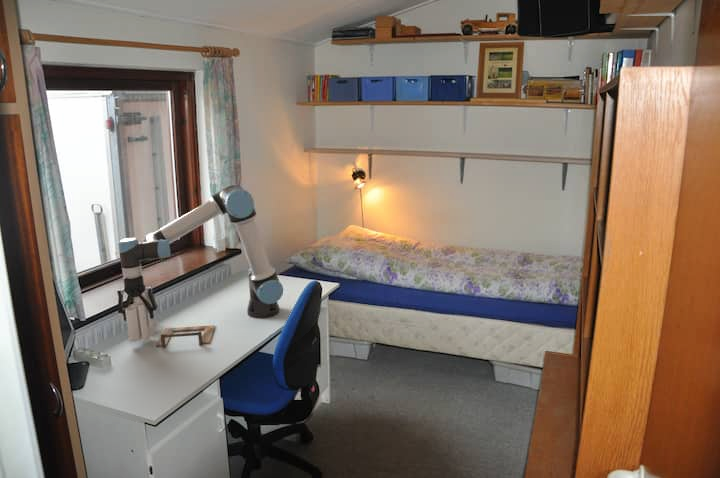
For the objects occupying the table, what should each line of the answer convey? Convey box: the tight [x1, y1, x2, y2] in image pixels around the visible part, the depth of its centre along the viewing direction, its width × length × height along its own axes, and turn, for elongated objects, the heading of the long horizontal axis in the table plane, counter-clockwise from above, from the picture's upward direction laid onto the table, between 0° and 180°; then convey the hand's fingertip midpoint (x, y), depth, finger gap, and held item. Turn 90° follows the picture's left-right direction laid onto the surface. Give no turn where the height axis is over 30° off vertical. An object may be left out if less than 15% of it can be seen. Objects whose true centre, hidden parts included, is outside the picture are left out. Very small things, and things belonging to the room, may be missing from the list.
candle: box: [125, 290, 156, 342], centre depth 237 cm, size 11×7×20 cm, turn 160°
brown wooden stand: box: [155, 325, 216, 349], centre depth 245 cm, size 22×19×6 cm
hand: (140, 326), depth 238 cm, fingers closed on candle, 8 cm apart
